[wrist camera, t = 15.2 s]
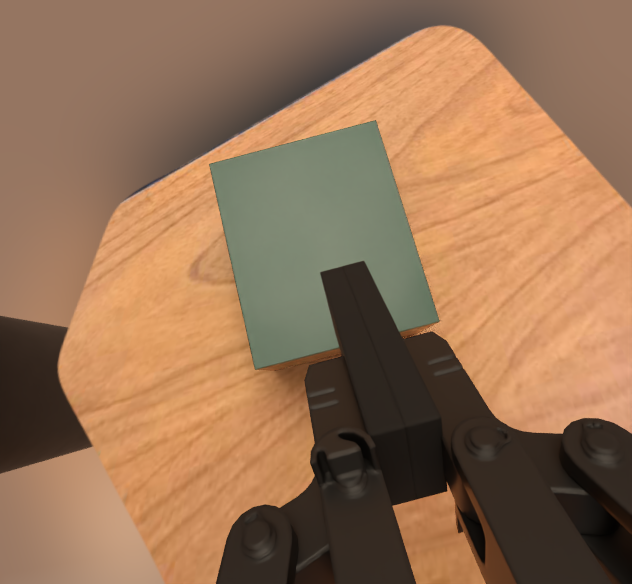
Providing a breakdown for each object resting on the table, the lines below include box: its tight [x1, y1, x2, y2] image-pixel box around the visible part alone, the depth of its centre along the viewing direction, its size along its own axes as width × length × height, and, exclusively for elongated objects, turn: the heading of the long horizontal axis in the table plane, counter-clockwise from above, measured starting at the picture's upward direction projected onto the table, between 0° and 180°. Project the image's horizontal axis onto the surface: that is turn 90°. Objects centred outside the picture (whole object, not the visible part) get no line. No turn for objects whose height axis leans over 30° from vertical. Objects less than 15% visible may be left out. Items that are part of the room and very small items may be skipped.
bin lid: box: [209, 120, 439, 370], centre depth 33 cm, size 16×14×1 cm
